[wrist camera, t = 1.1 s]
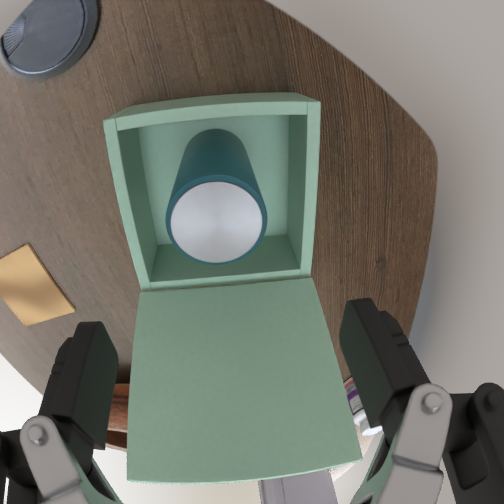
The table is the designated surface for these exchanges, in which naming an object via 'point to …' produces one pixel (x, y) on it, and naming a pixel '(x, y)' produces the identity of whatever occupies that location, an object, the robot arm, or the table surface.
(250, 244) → the can
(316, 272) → the table surface
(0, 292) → the coaster
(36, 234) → the table surface
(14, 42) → the table surface
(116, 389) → the bowl
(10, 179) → the table surface
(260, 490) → the game console
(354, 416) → the pill bottle
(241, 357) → the cool box lid
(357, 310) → the robot arm
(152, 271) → the cool box
